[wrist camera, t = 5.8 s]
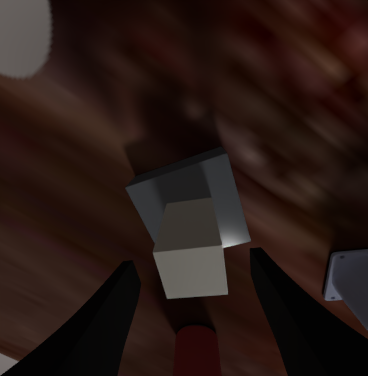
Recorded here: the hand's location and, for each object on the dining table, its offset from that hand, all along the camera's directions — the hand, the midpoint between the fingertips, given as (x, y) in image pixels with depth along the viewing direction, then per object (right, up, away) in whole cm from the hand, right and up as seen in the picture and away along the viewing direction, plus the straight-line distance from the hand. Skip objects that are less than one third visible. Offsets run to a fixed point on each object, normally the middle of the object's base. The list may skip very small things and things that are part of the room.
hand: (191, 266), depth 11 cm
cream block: (0, +2, +5) cm, 6 cm away
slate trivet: (0, +3, +8) cm, 9 cm away
